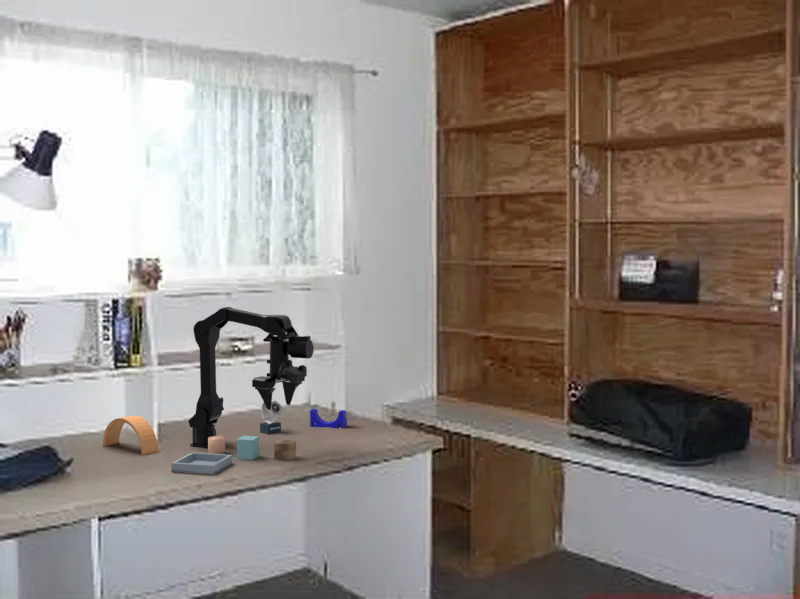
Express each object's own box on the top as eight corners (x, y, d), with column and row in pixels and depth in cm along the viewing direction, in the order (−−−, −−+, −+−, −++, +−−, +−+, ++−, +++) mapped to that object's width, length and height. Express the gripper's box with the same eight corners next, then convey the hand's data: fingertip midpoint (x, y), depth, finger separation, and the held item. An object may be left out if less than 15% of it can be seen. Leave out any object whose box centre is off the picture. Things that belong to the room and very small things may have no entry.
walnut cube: (274, 459, 258) (274, 443, 257) (280, 455, 263) (280, 439, 262) (290, 461, 257) (290, 444, 256) (296, 456, 261) (296, 440, 261)
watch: (271, 435, 290) (271, 402, 289) (256, 431, 295) (256, 399, 294) (284, 432, 294) (284, 400, 293) (270, 429, 299) (269, 397, 298)
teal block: (236, 459, 258) (236, 439, 258) (243, 455, 263) (243, 435, 263) (252, 460, 257) (252, 440, 257) (259, 456, 262) (258, 436, 262)
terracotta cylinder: (205, 455, 263) (205, 439, 262) (212, 451, 267) (212, 435, 267) (220, 456, 261) (220, 439, 261) (227, 452, 266) (227, 436, 266)
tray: (171, 471, 243) (171, 463, 243) (192, 460, 256) (192, 452, 256) (213, 474, 241) (213, 465, 240) (232, 463, 253) (232, 454, 253)
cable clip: (346, 426, 305) (346, 409, 305) (343, 429, 301) (343, 411, 300) (314, 424, 308) (314, 407, 308) (310, 427, 304) (310, 410, 303)
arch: (142, 455, 262) (142, 422, 262) (102, 446, 274) (102, 414, 274) (158, 451, 267) (157, 419, 266) (118, 442, 279) (117, 411, 278)
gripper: (280, 362, 254) (279, 415, 255) (318, 355, 269) (318, 405, 271) (251, 359, 259) (250, 411, 261) (290, 352, 275) (290, 401, 276)
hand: (278, 407), depth 267 cm, fingers open, 9 cm apart
